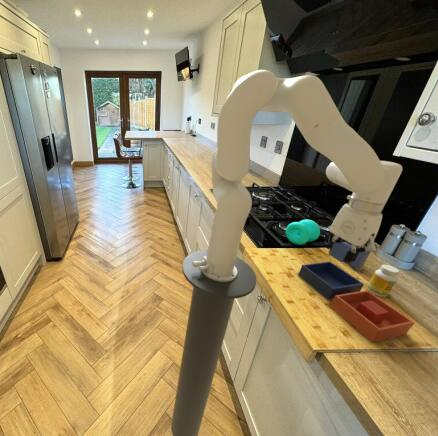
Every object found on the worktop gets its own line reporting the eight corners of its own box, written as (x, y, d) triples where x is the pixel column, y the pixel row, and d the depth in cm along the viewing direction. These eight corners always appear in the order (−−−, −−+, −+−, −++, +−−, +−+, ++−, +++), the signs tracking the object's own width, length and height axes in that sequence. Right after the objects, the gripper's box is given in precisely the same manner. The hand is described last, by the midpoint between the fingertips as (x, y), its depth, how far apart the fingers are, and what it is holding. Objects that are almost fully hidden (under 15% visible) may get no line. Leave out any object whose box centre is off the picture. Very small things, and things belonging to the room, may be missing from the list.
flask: (362, 271, 88) (375, 247, 83) (353, 270, 89) (365, 246, 84) (350, 257, 96) (361, 235, 91) (342, 256, 97) (352, 233, 92)
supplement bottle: (371, 284, 82) (384, 261, 77) (390, 294, 77) (405, 271, 73) (362, 288, 80) (375, 265, 75) (382, 299, 75) (397, 275, 71)
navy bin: (328, 299, 74) (333, 289, 72) (298, 274, 85) (302, 264, 83) (358, 294, 77) (364, 284, 75) (325, 271, 87) (329, 261, 85)
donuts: (281, 238, 108) (288, 218, 104) (295, 234, 112) (302, 215, 108) (302, 249, 100) (310, 229, 96) (316, 244, 104) (325, 224, 100)
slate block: (341, 262, 73) (347, 250, 71) (328, 254, 77) (333, 243, 75) (352, 260, 74) (358, 249, 72) (339, 253, 78) (344, 241, 76)
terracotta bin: (371, 342, 61) (379, 330, 59) (329, 306, 72) (335, 295, 70) (406, 334, 64) (415, 322, 62) (360, 300, 74) (367, 289, 72)
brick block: (369, 325, 65) (376, 314, 63) (353, 313, 69) (359, 302, 67) (381, 323, 66) (388, 312, 64) (365, 311, 70) (371, 300, 68)
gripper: (328, 195, 74) (309, 244, 82) (388, 218, 59) (357, 275, 67) (347, 194, 76) (326, 242, 84) (410, 216, 61) (377, 272, 69)
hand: (340, 256), depth 76 cm, fingers closed on slate block, 4 cm apart
